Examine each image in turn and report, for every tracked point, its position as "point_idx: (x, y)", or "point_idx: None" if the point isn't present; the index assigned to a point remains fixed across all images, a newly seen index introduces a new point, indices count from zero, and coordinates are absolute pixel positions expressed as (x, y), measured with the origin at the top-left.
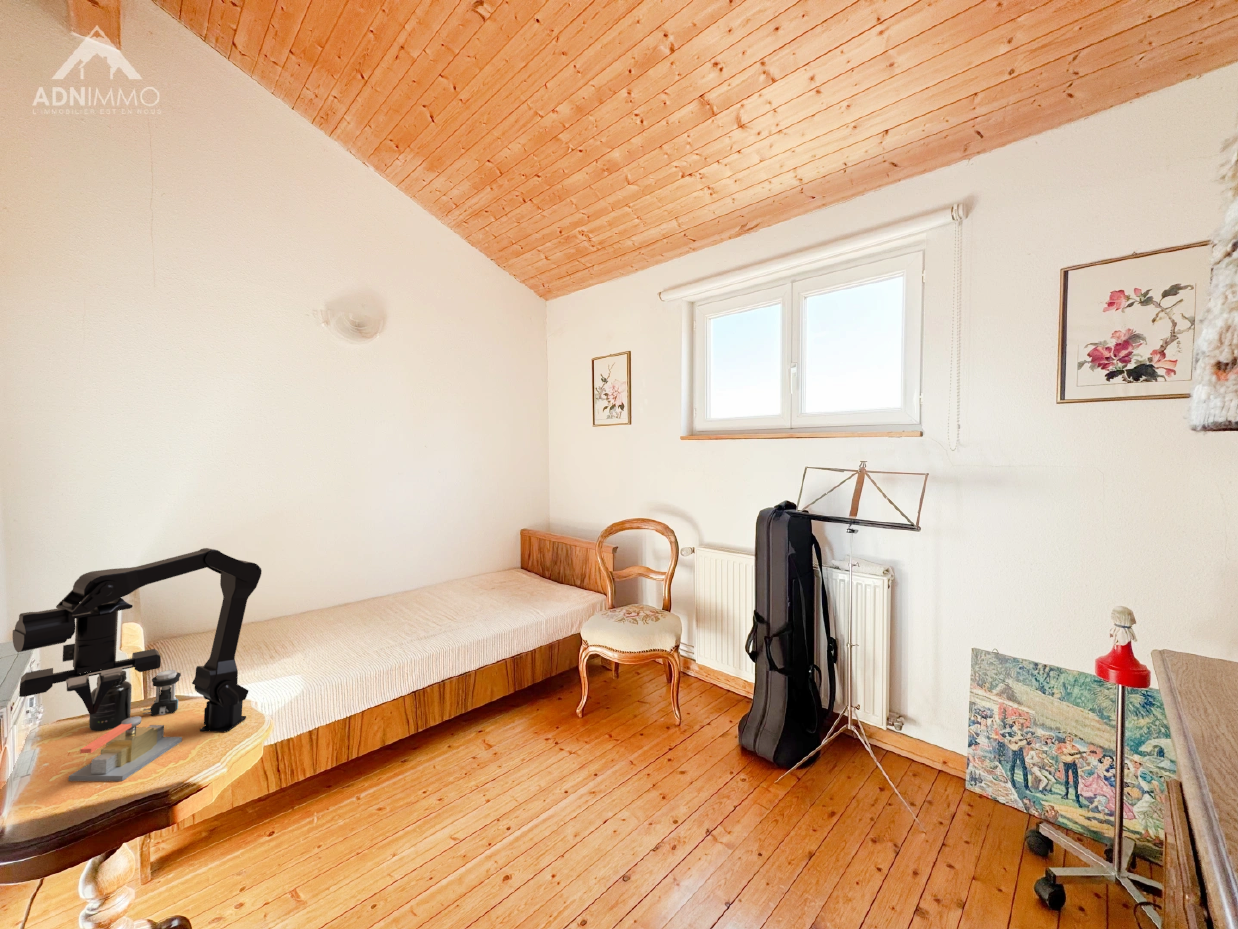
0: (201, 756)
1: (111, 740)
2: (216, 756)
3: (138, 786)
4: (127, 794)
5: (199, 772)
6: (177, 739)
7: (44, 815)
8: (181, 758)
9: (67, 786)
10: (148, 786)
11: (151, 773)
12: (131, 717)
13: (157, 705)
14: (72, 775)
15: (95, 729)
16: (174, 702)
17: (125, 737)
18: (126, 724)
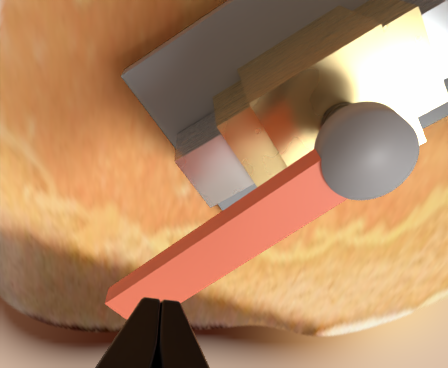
0: (418, 248)
1: (262, 123)
2: (432, 278)
3: (248, 275)
4: (217, 291)
5: (359, 319)
6: None
7: (53, 238)
8: (388, 215)
9: (116, 110)
10: (262, 293)
11: (298, 235)
12: (392, 116)
13: None
14: (131, 83)
15: None
16: None
17: (308, 149)
18: (328, 194)
